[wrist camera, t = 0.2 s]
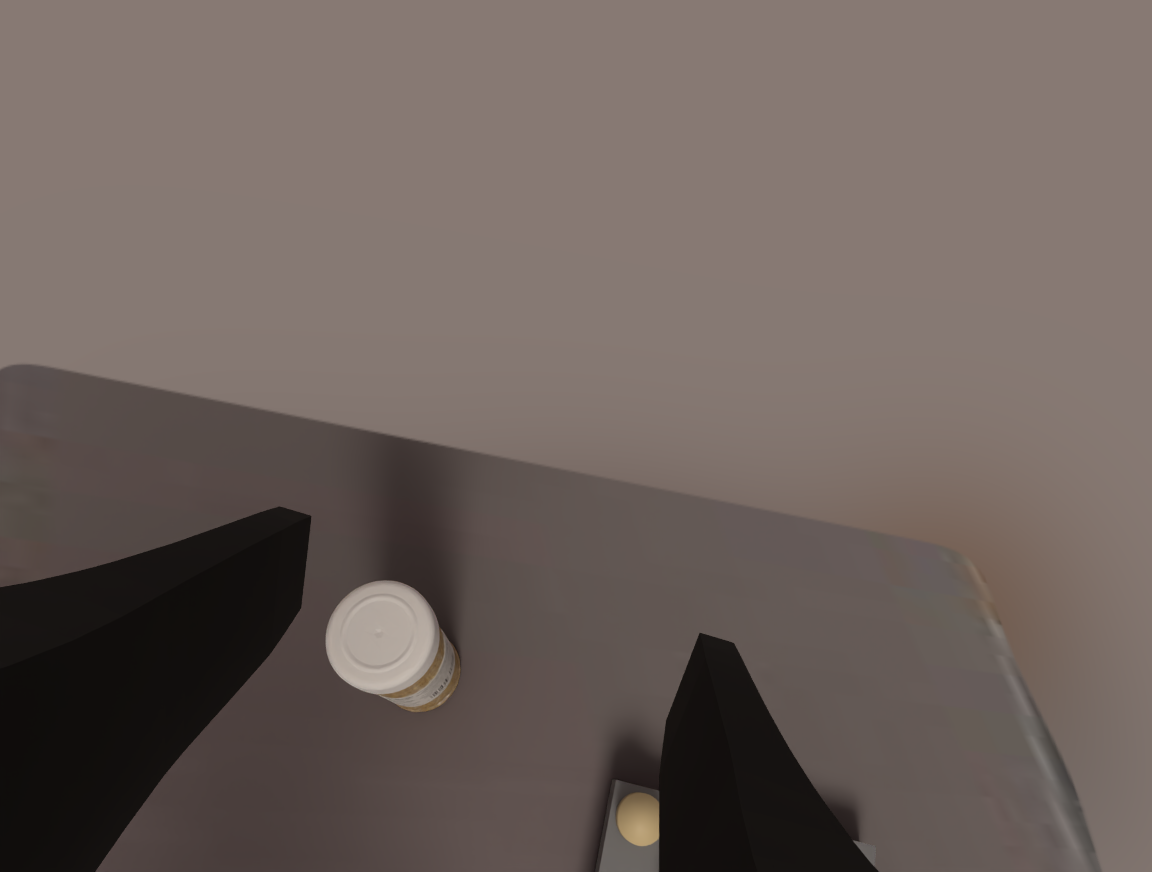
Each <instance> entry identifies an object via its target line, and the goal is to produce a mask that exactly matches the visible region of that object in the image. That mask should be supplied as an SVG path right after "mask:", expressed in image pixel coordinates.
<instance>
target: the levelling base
mask: <svg viewBox="0 0 1152 872" xmlns="http://www.w3.org/2000/svg"><path fill="white" fill-rule="evenodd" d="M853 841H854V840H853ZM854 843H855V844H856V845H857V846H858V848H859V849H860V850H861V851H862V852H863V854H864V855H865V856H866V857H867V859H868V860H869V861H870V862H871V863H872V865H873V866H874V867H875V856H876V846H873V845H869V844H866V843H862V842H858V841H854ZM595 872H659V791H658V790H654V789H651V788H647V787H643V786H639V785H635V784H631V783H627V782H623V781H619V780H614V779H612V783H611V788H610V794H609V799H608V804H607V810H606V815H605V820H604V826H603V831H602V836H601V841H600V847H599V852H598V857H597V863H596V868H595Z"/></svg>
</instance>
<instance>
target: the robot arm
mask: <svg viewBox="0 0 1152 872" xmlns="http://www.w3.org/2000/svg"><path fill="white" fill-rule="evenodd" d="M310 524H311V516H310V515H306V514H303V513H300V512H296V511H293V510H290V509H286V508H283V507H276V508H273V509H269V510H266V511H263V512H260V513H257V514H254V515H251V516H249V517H246V518H243V519H240V520H237V521H235V522H232V523H229V524H226V525H224V526H221V527H218V528H215V529H212V530H209V531H207V532H204V533H201V534H198V535H195V536H192V537H190V538H187V539H184V540H181V541H178V542H175V543H172V544H169V545H166V546H163V547H160V548H156V549H153V550H150V551H147V552H143V553H140V554H137V555H134V556H131V557H127V558H124V559H121V560H118V561H114V562H111V563H108V564H104V565H100V566H97V567H93V568H89V569H85V570H81V571H77V572H73V573H69V574H64V575H60V576H56V577H51V578H47V579H42V580H38V581H33V582H28V583H23V584H17V585H11V586H5V587H0V872H95V871H96V870H97V868H98V867H99V865H100V864H101V862H102V861H103V860H104V858H105V857H106V855H107V854H108V852H109V851H110V850H111V848H112V847H113V845H114V844H115V842H116V841H117V839H118V838H119V837H120V835H121V834H122V832H123V831H124V829H125V828H126V827H127V825H128V824H129V823H130V821H131V820H132V818H133V817H134V816H135V814H136V813H137V812H138V810H139V809H140V808H141V806H142V805H143V803H144V802H145V801H146V799H147V798H148V797H149V795H150V794H151V793H152V791H153V790H154V788H155V787H156V786H157V784H158V783H159V782H160V780H161V779H162V778H163V776H164V775H165V774H166V772H167V771H168V770H169V769H170V768H171V766H172V765H173V764H174V763H175V762H176V760H177V759H178V758H179V757H180V755H181V754H182V753H183V752H184V751H185V750H186V748H187V747H188V746H189V745H190V744H191V743H192V742H193V741H194V740H195V738H196V737H197V736H198V735H199V734H200V733H201V732H202V731H203V729H204V728H205V727H206V726H207V725H208V724H209V723H210V722H211V720H212V719H213V718H214V717H215V716H216V715H217V714H218V713H219V711H220V710H221V709H222V708H223V707H224V706H225V705H226V704H227V703H228V701H229V700H230V699H231V698H232V697H233V696H234V695H235V694H236V692H237V691H238V690H239V689H240V688H241V687H242V686H243V685H244V683H245V682H246V681H247V680H248V679H249V678H250V677H251V675H252V674H253V673H254V672H255V671H256V670H257V669H258V667H259V666H260V665H261V664H262V663H263V662H264V661H265V659H266V658H267V657H268V656H269V655H270V653H271V652H272V651H273V649H274V648H275V646H276V645H277V643H278V642H279V641H280V639H281V638H282V636H283V635H284V633H285V632H286V630H287V629H288V627H289V626H290V624H291V623H292V621H293V620H294V618H295V617H296V615H297V613H298V612H299V610H300V609H301V604H302V595H303V586H304V577H305V568H306V560H307V551H308V542H309V533H310ZM659 872H878V870H877V869H876V868H875V867H874V866H873V865H872V863H871V862H870V861H869V860H868V859H867V857H866V856H865V855H864V854H863V852H862V851H861V850H860V849H859V848H858V846H857V845H856V844H855V843H854V841H853V840H852V839H851V837H850V836H849V835H848V833H847V832H846V831H845V829H844V828H843V827H842V825H841V824H840V823H839V821H838V820H837V819H836V817H835V816H834V815H833V813H832V812H831V811H830V809H829V808H828V807H827V805H826V804H825V802H824V801H823V800H822V798H821V797H820V795H819V794H818V792H817V791H816V789H815V788H814V787H813V785H812V783H811V782H810V780H809V779H808V777H807V776H806V774H805V772H804V771H803V769H802V768H801V766H800V765H799V763H798V762H797V760H796V758H795V757H794V755H793V754H792V752H791V750H790V749H789V747H788V745H787V744H786V742H785V740H784V738H783V736H782V735H781V733H780V731H779V729H778V727H777V726H776V724H775V722H774V720H773V718H772V717H771V715H770V713H769V711H768V709H767V707H766V705H765V704H764V702H763V700H762V698H761V696H760V694H759V692H758V690H757V688H756V686H755V684H754V682H753V680H752V678H751V676H750V674H749V672H748V670H747V668H746V666H745V664H744V662H743V660H742V658H741V656H740V654H739V652H738V650H737V648H736V646H735V644H734V643H732V642H729V641H726V640H722V639H719V638H716V637H712V636H709V635H706V634H702V633H699V636H698V639H697V641H696V644H695V646H694V649H693V652H692V654H691V657H690V660H689V662H688V665H687V667H686V670H685V673H684V675H683V678H682V681H681V683H680V686H679V688H678V691H677V694H676V696H675V699H674V702H673V704H672V707H671V709H670V712H669V715H668V717H667V720H666V726H665V734H664V741H663V749H662V757H661V766H660V775H659Z"/></svg>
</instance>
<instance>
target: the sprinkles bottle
mask: <svg viewBox="0 0 1152 872" xmlns="http://www.w3.org/2000/svg"><path fill="white" fill-rule="evenodd" d="M326 651H327V655H328V658H329V661H330V663H331V665H332V667H333V669H334V670H335V672H336V673H337V674H338V675H339V676H340V677H341V678H342V679H343V680H344V681H346V682H347V683H348V684H350V685H352V686H353V687H355V688H357V689H359V690H362V691H365V692H368V693H372V694H377V695H379V696H381V697H383V698H385V699H387V700H389V701H391V702H393V703H395V704H396V705H398V706H399V707H400V708H402V709H404V710H408V711H411V712H424V711H429V710H432V709H435V708H436V707H438V706H440V705H442V704H443V703H444V702H445V701H446V700H447V699H448V698H449V697H450V696H451V695H452V693H453V691H454V690H455V688H456V687H457V684H458V681H459V677H460V672H461V669H460V659H459V656H458V653H457V651H456V649H455V647H454V646H453V644H452V643H451V642H449V640H448V638H447V637H446V635H445V634H444V632H443V631H442V629H441V628H440V627H439V625H438V621H437V617H436V615H435V613H434V611H433V609H432V608H431V606H430V605H429V603H428V602H427V601H426V600H425V598H424V597H423V596H422V595H421V594H420V593H419V592H418V591H416V590H415V589H414V588H412V587H410V586H408V585H406V584H404V583H401V582H397V581H388V580H383V581H374V582H371V583H367V584H365V585H363V586H360V587H358V588H356V589H355V590H353V591H352V592H350V593H349V594H348V595H347V596H346V597H345V598H344V599H343V600H342V601H341V602H340V603H339V604H338V606H337V607H336V609H335V610H334V612H333V614H332V615H331V618H330V620H329V623H328V626H327V631H326Z"/></svg>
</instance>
